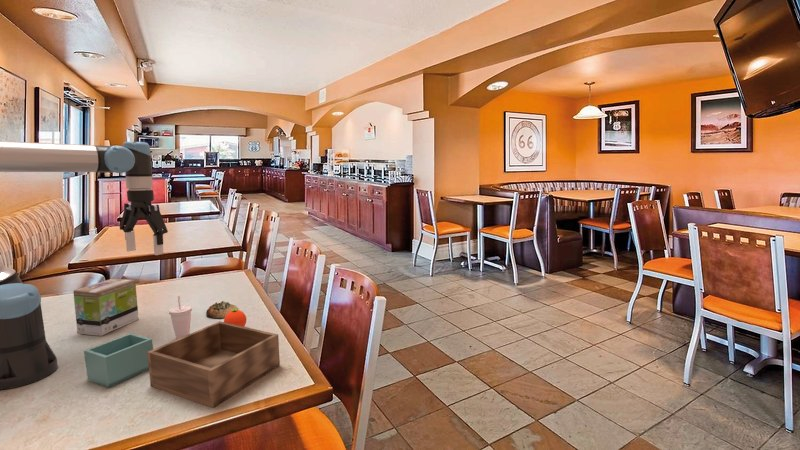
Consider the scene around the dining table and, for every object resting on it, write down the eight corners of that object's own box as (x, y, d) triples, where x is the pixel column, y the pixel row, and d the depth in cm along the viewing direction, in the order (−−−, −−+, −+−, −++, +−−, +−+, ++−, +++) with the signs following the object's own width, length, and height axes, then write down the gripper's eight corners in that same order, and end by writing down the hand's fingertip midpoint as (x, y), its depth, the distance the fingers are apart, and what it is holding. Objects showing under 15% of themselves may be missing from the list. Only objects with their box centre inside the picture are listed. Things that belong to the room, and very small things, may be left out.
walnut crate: (213, 407, 97) (210, 370, 96) (150, 386, 107) (147, 352, 105) (279, 365, 117) (278, 334, 115) (221, 350, 126) (219, 321, 125)
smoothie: (169, 343, 131) (165, 299, 129) (174, 335, 137) (170, 293, 135) (192, 341, 133) (188, 297, 130) (195, 333, 139) (192, 291, 137)
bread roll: (202, 312, 157) (203, 299, 157) (233, 310, 164) (234, 297, 163) (209, 322, 148) (211, 308, 148) (242, 319, 155) (243, 306, 155)
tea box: (103, 336, 136) (97, 292, 134) (76, 334, 138) (71, 290, 136) (140, 319, 151) (135, 278, 149) (115, 317, 153) (111, 277, 151)
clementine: (224, 327, 143) (222, 307, 142) (246, 324, 146) (244, 304, 145) (224, 336, 136) (223, 315, 135) (247, 332, 139) (246, 311, 138)
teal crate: (109, 387, 106) (105, 357, 105) (87, 379, 110) (83, 350, 108) (154, 366, 117) (152, 338, 115) (133, 360, 120) (130, 333, 119)
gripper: (176, 190, 140) (181, 253, 143) (126, 187, 150) (130, 247, 153) (155, 191, 133) (160, 258, 136) (104, 188, 143) (109, 251, 146)
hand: (144, 252), depth 144 cm, fingers open, 13 cm apart
